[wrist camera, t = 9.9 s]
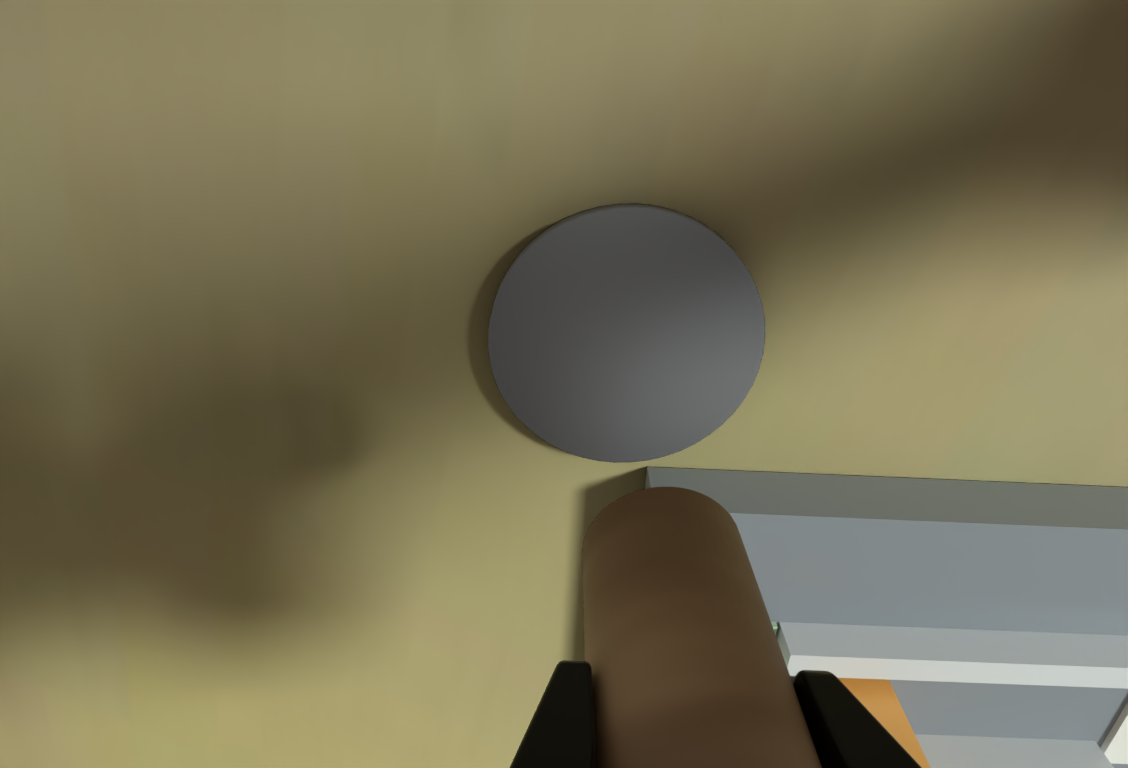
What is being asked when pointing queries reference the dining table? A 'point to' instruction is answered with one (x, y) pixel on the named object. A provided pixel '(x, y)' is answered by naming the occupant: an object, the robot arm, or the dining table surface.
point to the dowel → (683, 642)
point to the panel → (950, 603)
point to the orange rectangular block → (887, 712)
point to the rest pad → (626, 333)
